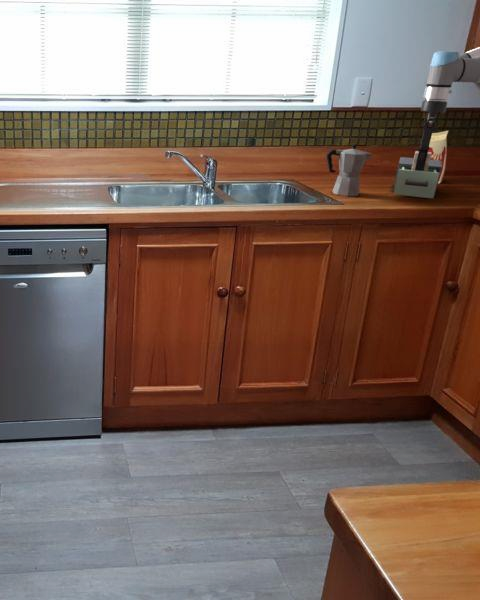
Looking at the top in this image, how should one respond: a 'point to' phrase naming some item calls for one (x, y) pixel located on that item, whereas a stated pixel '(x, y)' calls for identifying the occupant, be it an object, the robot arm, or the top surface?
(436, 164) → the cabinet
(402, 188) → the bin
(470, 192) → the top surface
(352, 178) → the coffeepot
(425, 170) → the block
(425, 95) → the robot arm
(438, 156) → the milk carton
